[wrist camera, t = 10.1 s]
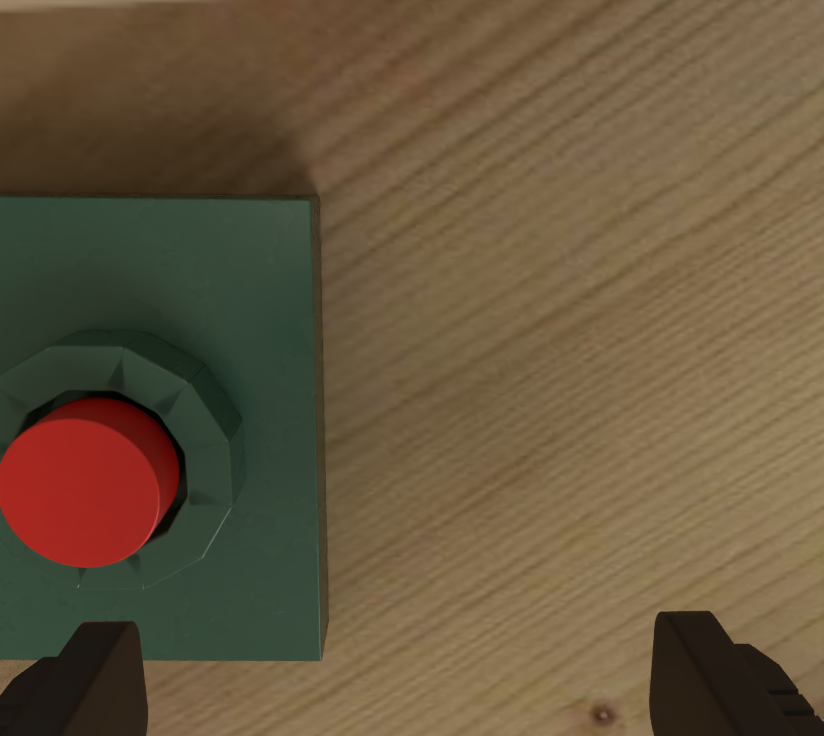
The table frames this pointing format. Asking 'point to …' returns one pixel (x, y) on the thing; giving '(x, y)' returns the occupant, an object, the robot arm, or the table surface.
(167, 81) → the table surface
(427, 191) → the table surface
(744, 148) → the table surface
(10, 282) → the control box
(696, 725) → the robot arm
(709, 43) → the table surface
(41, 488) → the button
